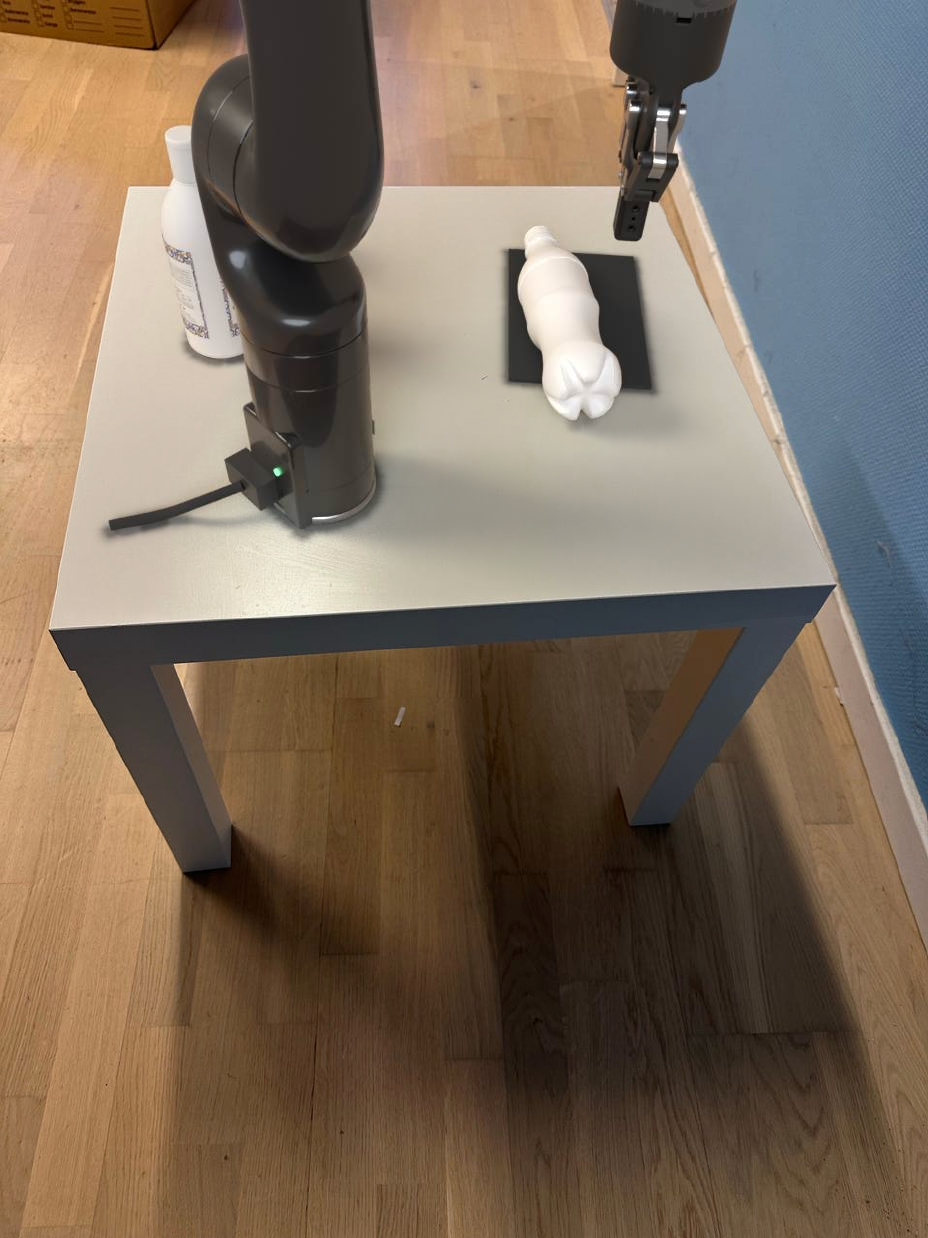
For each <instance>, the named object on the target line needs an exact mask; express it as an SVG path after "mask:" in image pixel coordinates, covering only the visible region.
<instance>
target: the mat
mask: <svg viewBox="0 0 928 1238" xmlns="http://www.w3.org/2000/svg"><path fill="white" fill-rule="evenodd" d="M571 253H572V254H573V255H574V256H576V257H577V258H578V259H579V260H580V261H581V263H582V264H583V266H584V267H585V269H586V271H587V274H588V279H589V283H590V286H591V289H592V292H593V295H594V297H595V299H596V300H597V302H598V305H599V318H598V324H599V334H600V337H601V341H602V343H603V345H604V346H605V347H606V348H607V349H609V350H610V351H611V352H612V353H613V354H614V355H615V356H616V358H617V360H618V362H619V365H620V369H621V381H622V382H621V388H620V389H633V390H634V389H636V390H652V388H653V385H652V378H651V370H650V364H649V357H648V356H649V355H648V349H647V343H646V335H645V329H644V321H643V313H642V307H641V300H640V299H641V298H640V292H639V285H638V278H637V272H636V264H635V257H634V256H632V255H617V254H616V255H615V254H602V253H601V254H600V253H583V252H571ZM526 261H527V259H526V256H525V249H521V248H508V382H516V383H517V382H518V383H531V384H533V383H534V384H542V376H543V356H542V351H541V350H540V349H538V348H537V347H536V346H535V344H534V343H533V341H532V340H531V338H530V336H529V333H528V330H527V321H526V318H525V314H524V310H523V307H522V305H521V303H520V300H519V296H518V280H519V276H520V273H521V270H522V268H523V266H524V264H525V262H526Z"/></svg>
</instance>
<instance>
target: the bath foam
mask: <svg viewBox="0 0 928 1238" xmlns="http://www.w3.org/2000/svg"><path fill="white" fill-rule="evenodd" d="M191 127H192V125H187V124H186V125H185V124H184V125H176V126H175V125H174V126H172V127H170V128H168V129H167V130H166V131H165V133H164V140H165V141H164V142H165V145H166V150H167V151H166V152H167V155H168V159H169V163H170V168H171V172H172V176H173V178H172V180H171V182H170V183H169V186H168V189H167V191H166V193H165V195H164V199H163V202H162V205H161V211H160V228H161V236H162V241H163V244H164V250H165V253H166V257H167V262H168V265H169V269H170V273H171V277H172V282H173V286H174V289H175V293H176V298H177V302H178V306H179V311H180V315H181V318H182V323H183V325H184V330H185V334H186V338H187V341H188V343H189V345H190V347H191V348H192V349H193V350H194V351H195V352H196V353H198V354H200V355H202V356H204V357H208V358H212V359H230V358H235V357H238V356H241V355H244V354H243V349H242V343H241V338H240V333H239V327H238V322H237V317H236V312H235V308H234V306H233V303H232V301H231V299H230V297H229V295H228V293H227V291H226V289H225V287H224V285H223V283H222V281H221V278H220V276H219V273H218V270H217V267H216V264H215V260H214V256H213V252H212V247H211V243H210V239H209V235H208V231H207V227H206V222H205V218H204V214H203V210H202V206H201V201H200V197H199V192H198V188H197V183H196V178H195V173H194V167H193V161H192V152H191Z"/></svg>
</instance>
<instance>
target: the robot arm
mask: <svg viewBox="0 0 928 1238" xmlns="http://www.w3.org/2000/svg"><path fill="white" fill-rule="evenodd" d="M737 2H738V0H616V3H615V4H616V5H615V11H614V16H613V21H612V22H613V23H612V29H611V35H610V41H609V47H608V51H609V52H608V53H609V57H610V59H611V62H612V63H613V64H614V65H615V67H617V68H618V69H619V70H620V71H621V72H623V73H624V74H626V75H627V78H626V79H625V82H624V91H623V96H622V105H623V116H622V123H621V128H620V132H619V133H620V134H619V138H618V143H619V148H620V149H619V151H618V155H617V156H618V157H617V158H618V161H619V164H621V165H620V166H621V167H620V170H619V171H618V179H619V180H618V181H619V184H620V185H619V191H618V196H617V202H616V206H615V212H614V217H613V221H612V230H613V231H612V232H613V237H614V239H615V240H616V241H619V242H620V241H621V242H635V243H637V242H639V241H640V240H641V239H642V238H643V235H644V234H643V233H644V231H645V225H646V221H647V218H648V217H647V216H648V212H649V209H650V203H659V202H660V200H661V198H662V196H663V195H664V193H665V191H666V190H667V188H668V186H669V184H670V183H671V181H672V180H673V177H674V176H675V174H676V172H677V169H678V168H679V164H680V160H679V153H678V152H674V149H675V145H676V142H677V137H678V135H679V134H680V133H681V132H682V130H683V128H684V124H685V121H686V117H687V110H688V103H687V102H682V99H683V92H684V90H686V89H687V88H688V87H690V86H692V85H694V84H696V83H702V82H704V81H707V80H709V79H710V78H711V77H713V76H714V75H715V74H716V73H717V72H718V70H719V68H720V67H721V63H722V60H723V57H724V56H723V55H724V53H725V50H726V49H725V48H726V45H727V41H728V37H729V33H730V29H731V25H732V22H733V17H734V14H735V12H736V11H735V10H736V6H737ZM238 3H239V7H240V12H241V17H242V23H243V28H244V36H245V42H246V48H247V53H243V54H239V55H236V56H233V57H231V58H229V59H227V60H226V61H225V62H223V63H221V65H219V66H217V68H216V69H215V70H213V72H212V73H211V75H209V77H208V78H207V80H205V82H204V85H203V86H202V88H201V90H200V92H199V94H198V96H197V99H196V102H195V106H194V108H193V114H192V119H191V126H192V127H191V152H192V161H193V167H194V173H195V178H196V183H197V188H198V192H199V197H200V201H201V206H202V210H203V214H204V218H205V222H206V227H207V231H208V235H209V239H210V243H211V247H212V252H213V256H214V260H215V264H216V267H217V270H218V273H219V276H220V278H221V281H222V283H223V285H224V287H225V289H226V291H227V293H228V295H229V297H230V299H231V301H232V303H233V306H234V308H235V312H236V317H237V322H238V327H239V333H240V338H241V343H242V349H243V354H242V355H243V360H244V365H245V371H246V376H247V382H248V387H249V393H250V397H251V401H249V402H247V403H245V404H244V405H243V406H242V412H243V417H244V423H245V429H246V432H247V437H248V442H249V448H250V449H249V448H248V447H247V446H245V447H244V448H242V449H241V450H239V451H237V452H235V453H233V454H231V455H230V456H228V457H226V458H224V460H223V461H224V465H225V470H226V473H227V478H228V482H229V483H230V484H228V485H224V486H222V487H220V488H216V489H215V490H211V491H209V492H207V493H204V494H201V495H198V496H196V497H193V498H191V499H188V500H185V501H182V502H180V503H177V504H174V505H172V506H167V507H164V508H161V509H156V510H153V511H148V512H142V513H139V514H138V513H137V514H133V515H128V516H122V517H118V518H113V519H108V526H109V528H110V531H116V530H121V529H122V530H123V529H128V528H131V527H136V526H142V525H147V524H152V523H156V522H160V521H163V520H168V519H172V518H174V517H178V516H181V515H184V514H187V513H189V512H191V511H194V510H197V509H200V508H202V507H205V506H207V505H210V504H213V503H216V502H218V501H220V500H223V499H226V498H228V497H231V496H233V495H236V494H239V493H241V494H242V495H243V497H245V498H246V499H247V500H248V501H249V502H251V504H252V505H253V506H255V508H257V509H258V511H260V512H262V511H264V510H265V509H267V508H269V507H271V506H272V505H273V506H274V507H275V508H276V509H277V510H278V511H279V512H281V513H282V514H283V515H284V516H286V517H287V518H288V519H289V520H290V521H291V522H292V523H293V524H294V525H295V526H296V527H297V528H298V529H300V530H303V529H306V528H308V527H309V526H311V525H316V524H317V525H318V524H319V525H323V524H332V523H337V522H340V521H341V522H342V521H344V520H346V519H349V518H351V517H353V516H355V515H356V514H359V512H362V510H363V509H365V507H367V505H369V503H370V502H371V501H372V498H373V497H374V495H375V492H376V487H377V474H376V473H377V472H376V468H375V452H374V451H375V450H374V436H375V435H376V427H375V420H373V412H372V391H371V390H372V388H371V368H370V365H371V364H370V346H369V345H370V342H369V321H368V319H369V318H368V299H367V288H366V282H365V280H364V277H363V274H362V272H361V270H360V268H359V266H358V264H357V263H356V261H355V259H354V258H353V256H352V255H351V252H352V251H353V250H355V249H356V247H358V245H359V244H360V243H361V241H362V240H363V239H364V238H365V236H366V235H367V233H368V231H369V229H370V228H371V226H372V224H373V223H374V219H375V217H376V214H377V211H378V209H379V206H380V202H381V197H382V192H383V188H384V182H385V181H384V179H385V140H384V128H383V117H382V107H381V98H380V97H381V96H380V89H379V88H380V87H379V79H378V68H377V58H376V51H375V50H376V48H375V38H374V27H373V26H374V25H373V16H372V14H373V13H372V0H238Z"/></svg>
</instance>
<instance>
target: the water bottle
mask: <svg viewBox="0 0 928 1238" xmlns="http://www.w3.org/2000/svg"><path fill="white" fill-rule="evenodd" d="M523 238H524V241H523V242H524V243H523V244H524V248H525V249H524V250H525V256H526V259H527V261H526V262H525V264H524V266H523V268H522V270H521V273H520V276H519V280H518V296H519V300H520V303H521V305H522V307H523V310H524V314H525V318H526V321H527V330H528V333H529V336H530V338H531V340H532V341H533V343H534V344H535V346H536V347H537V348H538V349H540V350H541V351H542V356H543V376H542V383H541V384H542V388H543V392H544V395H545V397H546V399H547V401H548V403H549V404H550V405H551V407H552V408H553V409H554V410H555V411H556V413H557V414H559V415H560V416H561V417H562V418H564V419H567V420H569V421H577V419H578V418H579V416H580V413H581V411H582V412H583V413H584V415H586V417H588V418H589V419H597V418H601V417H602V416H604V415H605V414H606V413H608V412H609V410H610V409H611V408H612V406H613V403H614V401H615V397H617V396H618V395H619V393H620V390H621V389H622V388H621V382H622V381H621V369H620V365H619V362H618V360H617V358H616V356H615V355H614V354H613V353H612V352H611V351H610V350H609V349H607V348H606V347H605V346H604V345H603V343H602V341H601V337H600V334H599V324H598V318H599V305H598V302H597V300H596V299H595V297H594V295H593V292H592V289H591V286H590V283H589V279H588V274H587V271H586V269H585V267H584V266H583V264H582V263H581V261H580V260H579V259H578V258H577V257H576V256H574V255H573V254H572V253H573V252H570V251H568V250H567V249H563V248H561V247H559V242H558V241H557V239H556V238H555V237H554V236H553V233H552V232H551V230H550V228H549V227H548V226H545V225H541V224H540V225H535V226H533V227H531V228H529V230H527V232H526V233H525V236H524V237H523Z"/></svg>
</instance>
